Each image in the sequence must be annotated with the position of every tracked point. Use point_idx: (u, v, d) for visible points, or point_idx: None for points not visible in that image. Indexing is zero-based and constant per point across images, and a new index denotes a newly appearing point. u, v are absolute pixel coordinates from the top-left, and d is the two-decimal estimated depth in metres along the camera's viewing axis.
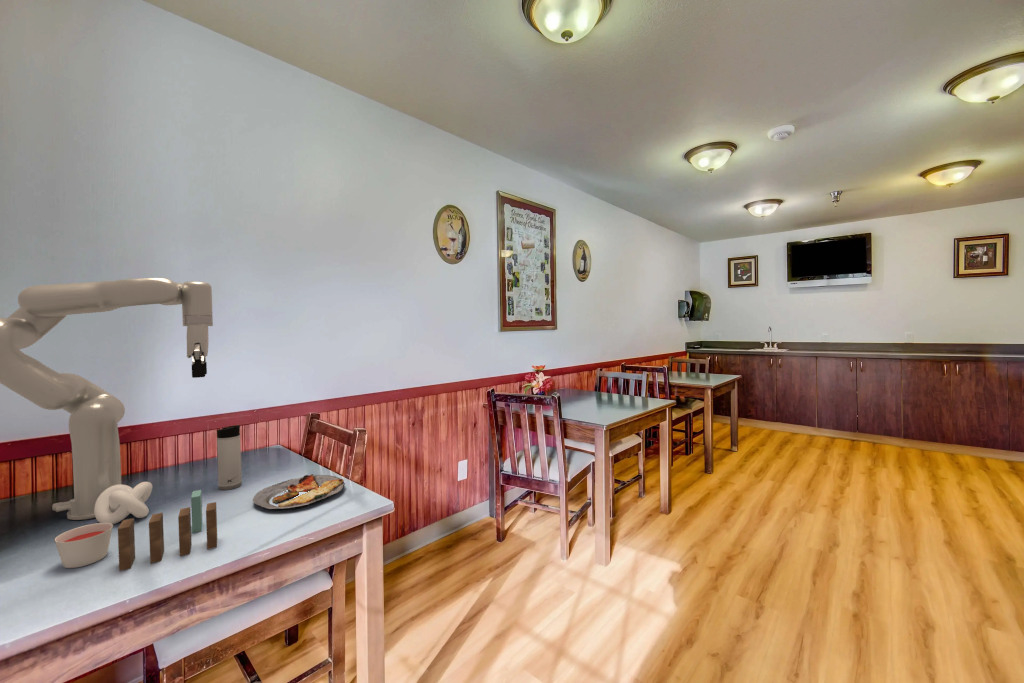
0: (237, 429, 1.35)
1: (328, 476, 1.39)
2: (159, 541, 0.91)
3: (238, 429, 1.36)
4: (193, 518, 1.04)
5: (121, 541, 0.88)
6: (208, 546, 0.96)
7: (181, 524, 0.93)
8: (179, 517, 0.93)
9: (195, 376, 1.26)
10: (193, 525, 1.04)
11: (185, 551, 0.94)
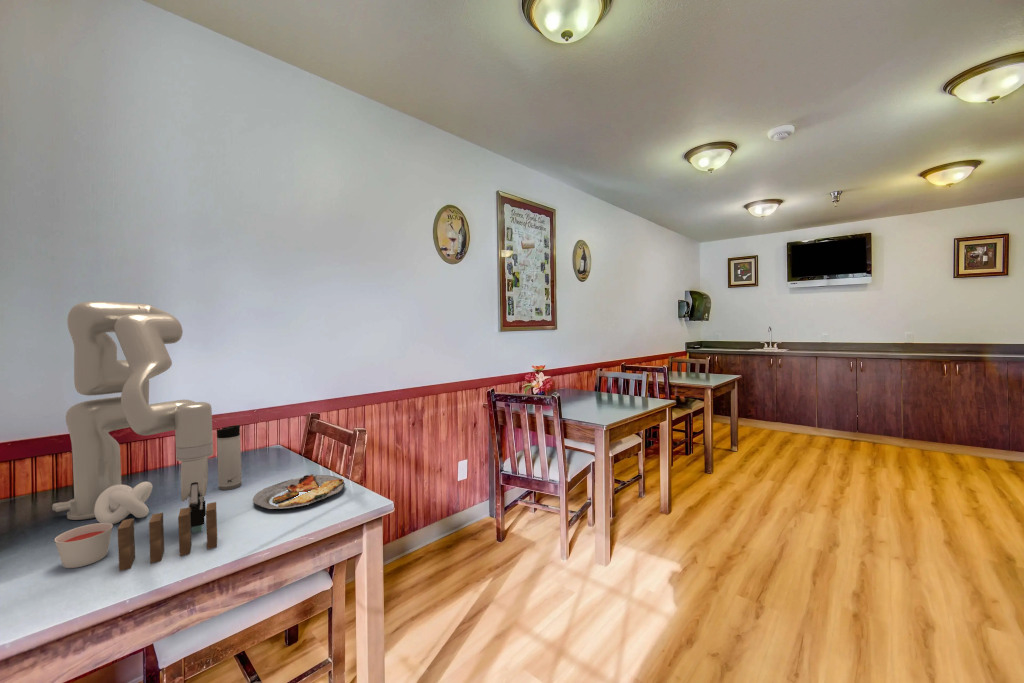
0: (237, 429, 1.35)
1: (328, 476, 1.39)
2: (159, 541, 0.91)
3: (238, 429, 1.36)
4: None
5: (121, 541, 0.88)
6: (208, 546, 0.96)
7: (181, 524, 0.93)
8: (179, 517, 0.93)
9: (192, 525, 1.04)
10: None
11: (185, 551, 0.94)
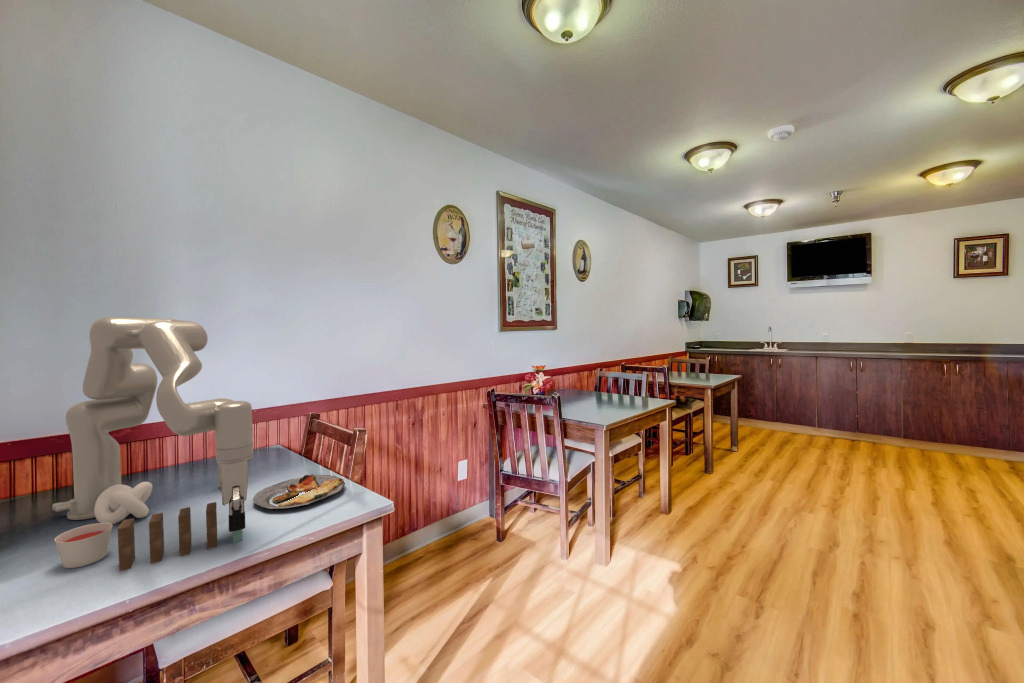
0: None
1: (328, 476, 1.39)
2: (159, 541, 0.91)
3: None
4: None
5: (121, 541, 0.88)
6: (208, 546, 0.96)
7: (181, 524, 0.93)
8: (179, 517, 0.93)
9: (233, 529, 0.97)
10: (234, 534, 0.99)
11: (185, 551, 0.94)
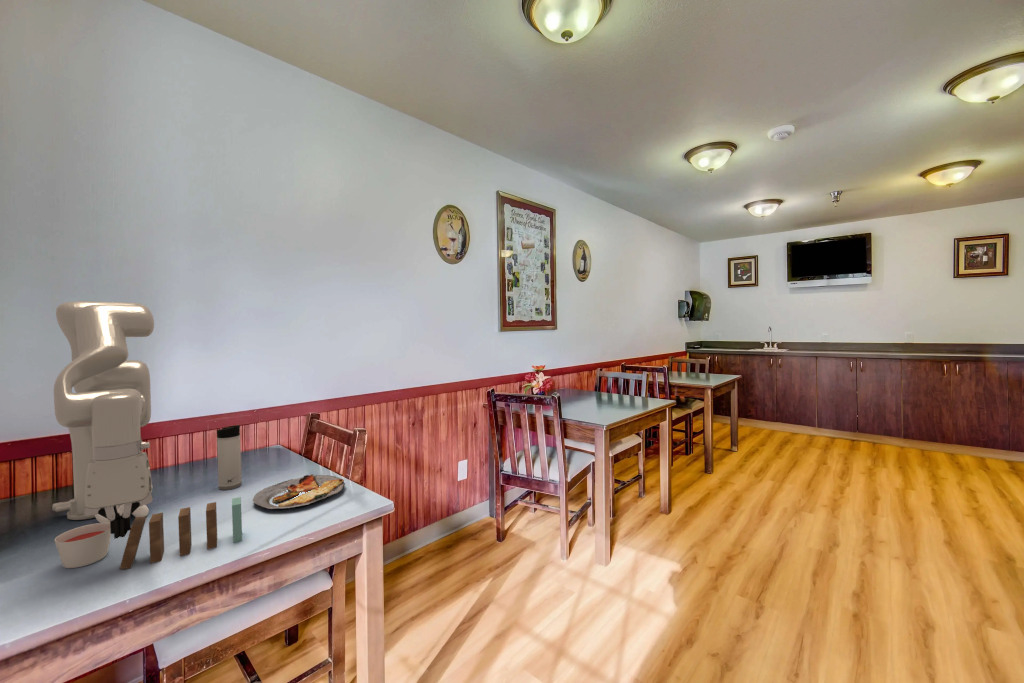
0: (237, 429, 1.35)
1: (328, 476, 1.39)
2: (159, 541, 0.91)
3: (238, 429, 1.36)
4: (234, 527, 0.99)
5: (130, 538, 0.89)
6: (208, 546, 0.96)
7: (181, 524, 0.93)
8: (179, 517, 0.93)
9: None
10: (234, 534, 0.99)
11: (185, 551, 0.94)
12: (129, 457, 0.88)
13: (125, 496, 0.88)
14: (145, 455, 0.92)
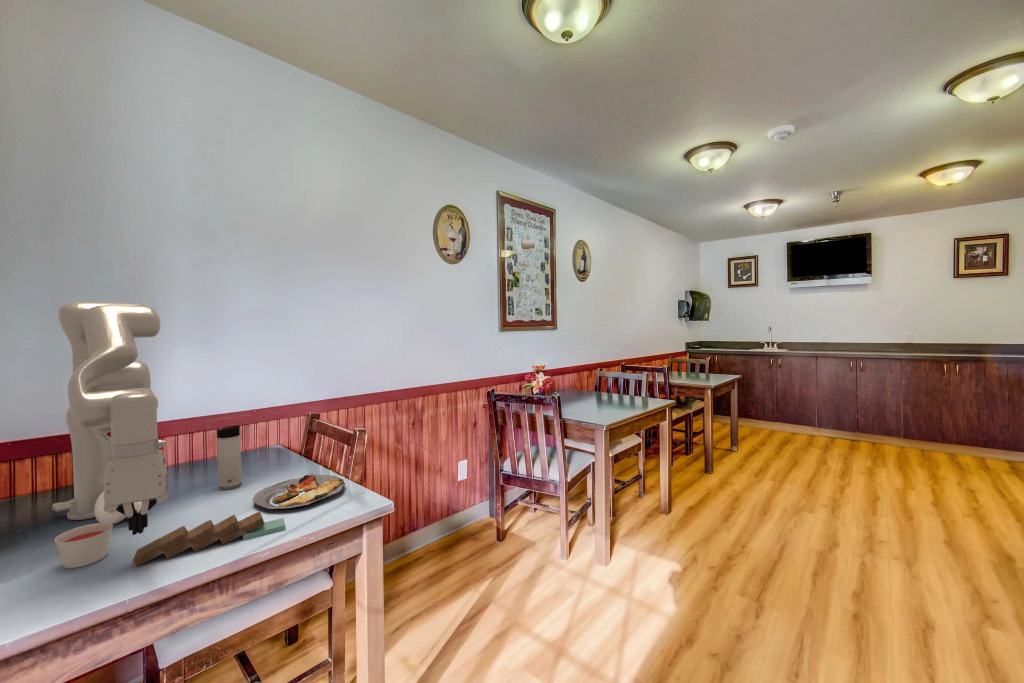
0: (237, 429, 1.35)
1: (328, 476, 1.39)
2: (190, 545, 0.94)
3: (238, 429, 1.36)
4: (260, 532, 1.02)
5: (168, 543, 0.92)
6: (223, 537, 0.98)
7: (227, 528, 0.98)
8: (234, 523, 0.99)
9: None
10: (252, 534, 1.01)
11: (197, 547, 0.95)
12: (147, 455, 0.90)
13: (143, 493, 0.90)
14: (162, 453, 0.93)
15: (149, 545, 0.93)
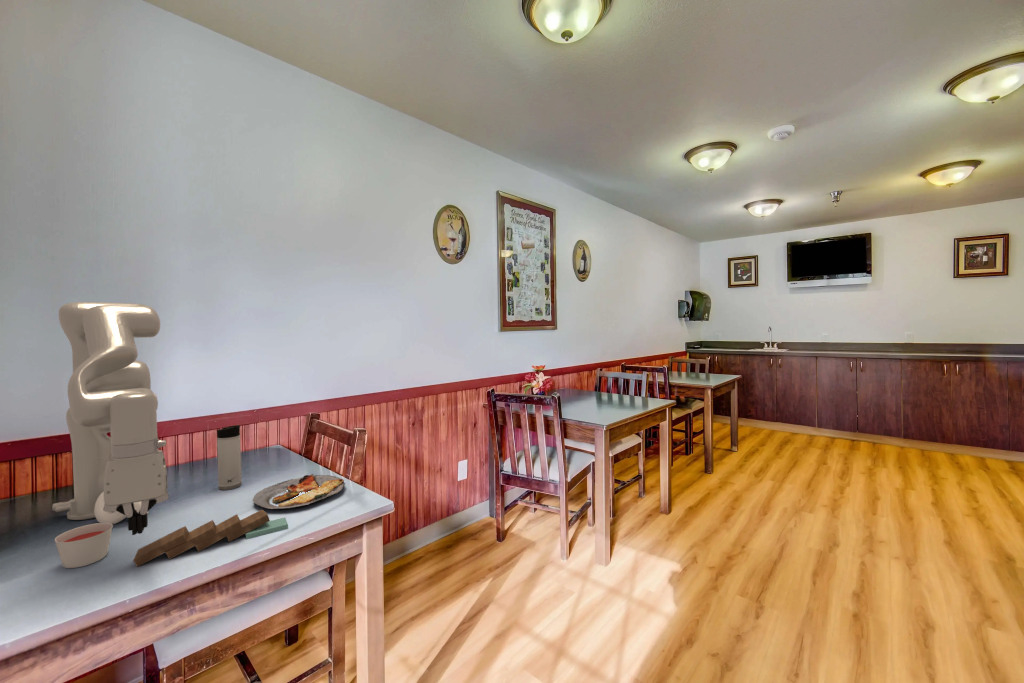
0: (237, 429, 1.35)
1: (328, 476, 1.39)
2: (192, 546, 0.94)
3: (238, 429, 1.36)
4: (263, 531, 1.03)
5: (168, 544, 0.92)
6: (229, 534, 0.99)
7: (230, 527, 0.99)
8: (238, 522, 1.00)
9: None
10: (255, 533, 1.02)
11: (201, 547, 0.95)
12: (147, 455, 0.90)
13: (143, 493, 0.90)
14: (161, 453, 0.93)
15: (150, 545, 0.93)
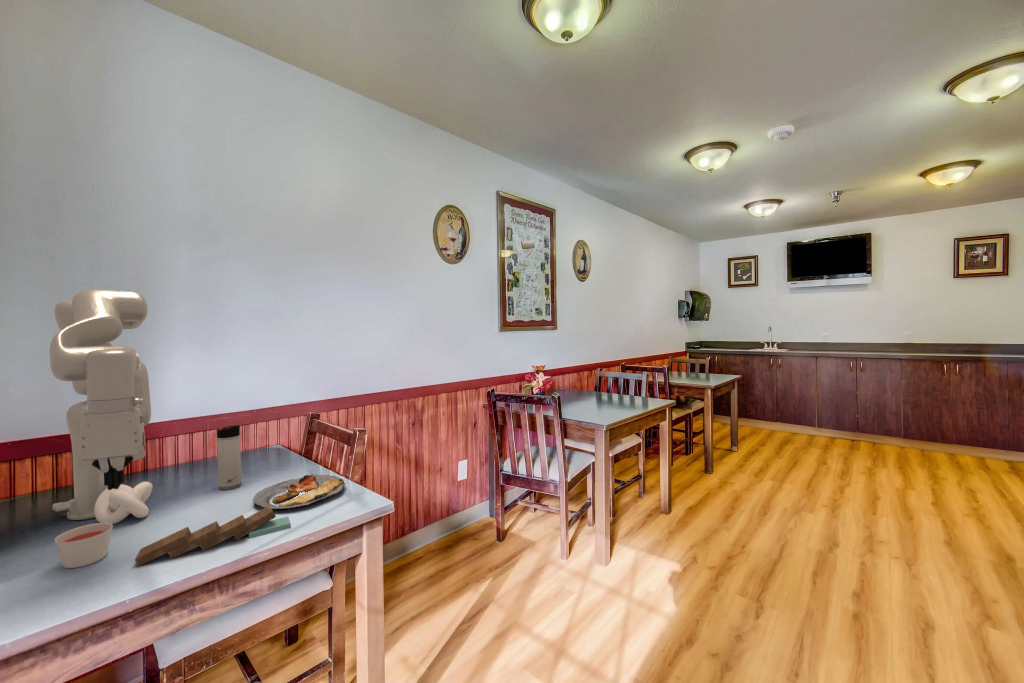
0: (237, 429, 1.35)
1: (328, 476, 1.39)
2: (194, 547, 0.94)
3: (238, 429, 1.36)
4: (266, 530, 1.03)
5: (170, 544, 0.92)
6: None
7: (235, 528, 0.99)
8: (242, 523, 1.00)
9: None
10: (258, 532, 1.02)
11: (205, 546, 0.96)
12: (123, 412, 0.90)
13: (119, 449, 0.90)
14: (139, 411, 0.93)
15: (152, 545, 0.93)
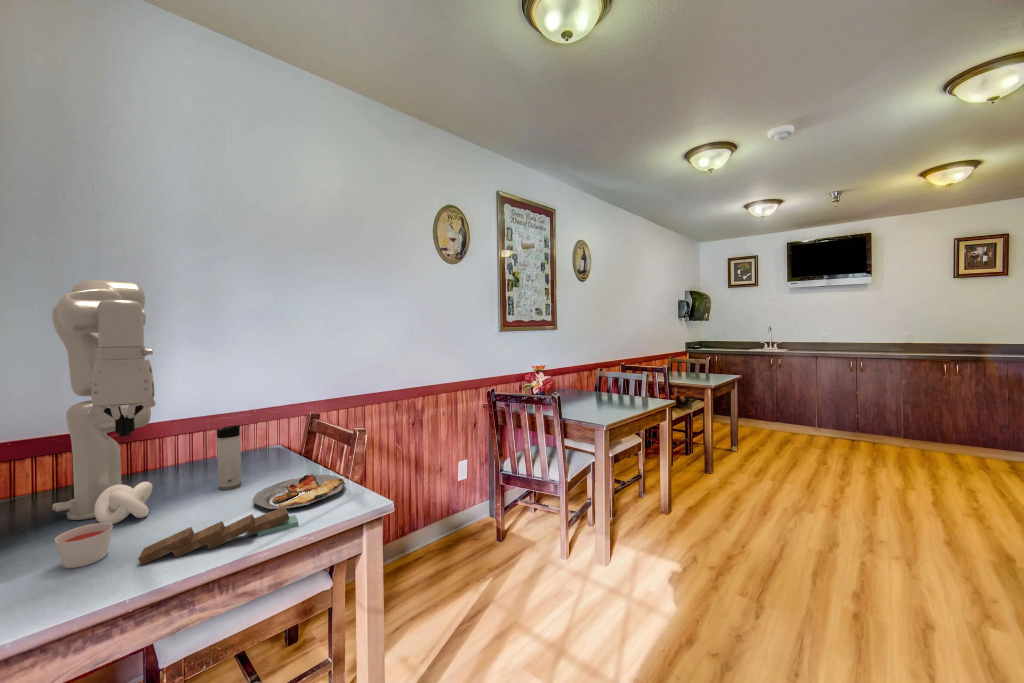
0: (237, 429, 1.35)
1: (328, 476, 1.39)
2: (198, 546, 0.94)
3: (238, 429, 1.36)
4: (274, 529, 1.04)
5: (173, 544, 0.92)
6: None
7: (241, 528, 0.98)
8: (248, 524, 0.99)
9: None
10: (266, 530, 1.03)
11: (212, 545, 0.96)
12: (133, 359, 0.93)
13: (129, 397, 0.93)
14: (148, 361, 0.96)
15: (156, 544, 0.94)
